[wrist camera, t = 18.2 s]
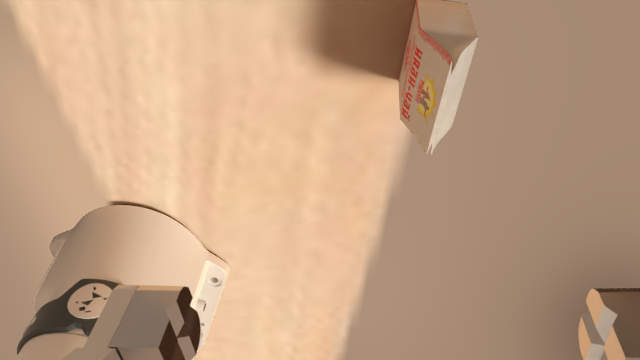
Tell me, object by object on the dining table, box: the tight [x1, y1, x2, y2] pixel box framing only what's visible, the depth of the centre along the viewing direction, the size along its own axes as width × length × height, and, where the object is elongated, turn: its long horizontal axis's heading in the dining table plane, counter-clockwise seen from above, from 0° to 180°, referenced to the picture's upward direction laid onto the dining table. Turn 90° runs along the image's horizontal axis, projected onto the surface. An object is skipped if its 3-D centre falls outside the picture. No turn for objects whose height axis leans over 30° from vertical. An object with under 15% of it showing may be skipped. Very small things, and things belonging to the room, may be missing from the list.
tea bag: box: [399, 0, 478, 154], centre depth 38 cm, size 4×7×10 cm, turn 174°
